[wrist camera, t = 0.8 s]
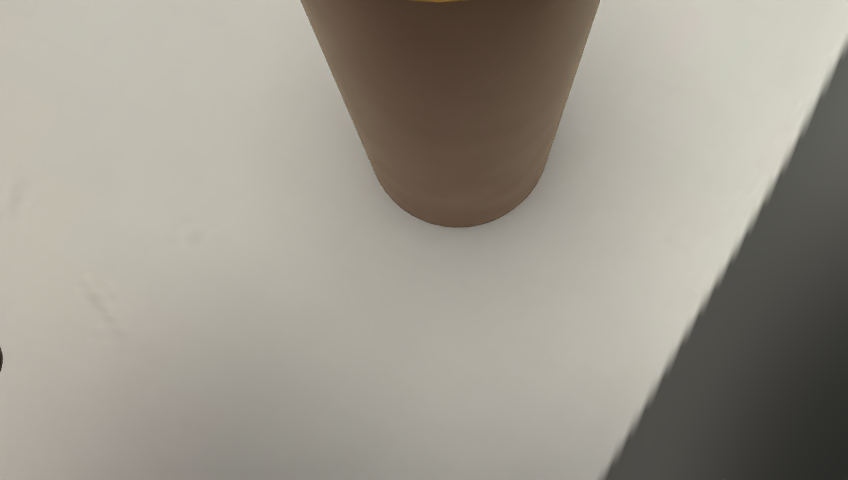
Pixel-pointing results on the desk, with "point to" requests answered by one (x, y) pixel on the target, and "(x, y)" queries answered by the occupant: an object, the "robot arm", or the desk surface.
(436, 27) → the chocolate tin
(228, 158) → the desk surface
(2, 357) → the robot arm
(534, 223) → the desk surface
